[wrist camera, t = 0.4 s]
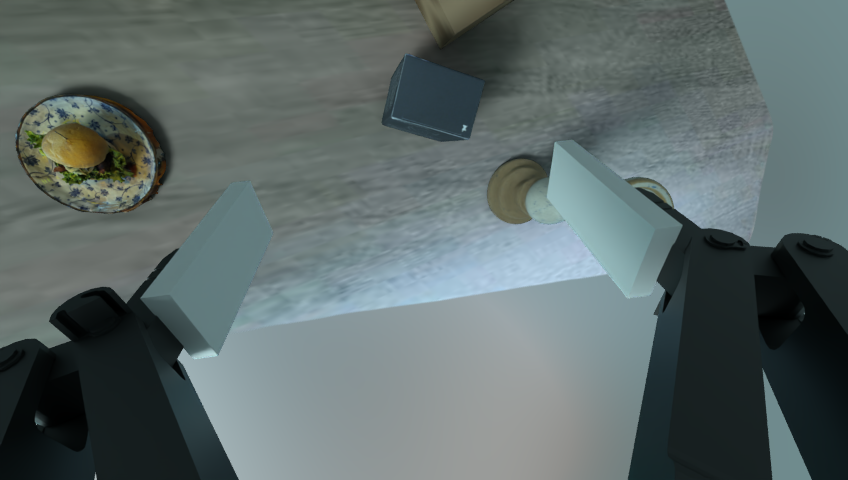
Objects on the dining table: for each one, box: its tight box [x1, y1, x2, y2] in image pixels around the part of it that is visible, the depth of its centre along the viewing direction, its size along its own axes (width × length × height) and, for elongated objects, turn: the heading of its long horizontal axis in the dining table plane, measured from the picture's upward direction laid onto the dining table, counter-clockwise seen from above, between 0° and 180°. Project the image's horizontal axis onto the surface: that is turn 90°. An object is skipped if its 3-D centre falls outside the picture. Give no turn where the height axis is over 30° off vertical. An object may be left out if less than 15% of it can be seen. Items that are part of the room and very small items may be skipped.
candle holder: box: [487, 159, 674, 225], centre depth 36 cm, size 9×9×20 cm
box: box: [382, 53, 485, 142], centre depth 35 cm, size 8×6×11 cm
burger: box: [15, 94, 166, 214], centre depth 31 cm, size 12×12×8 cm
